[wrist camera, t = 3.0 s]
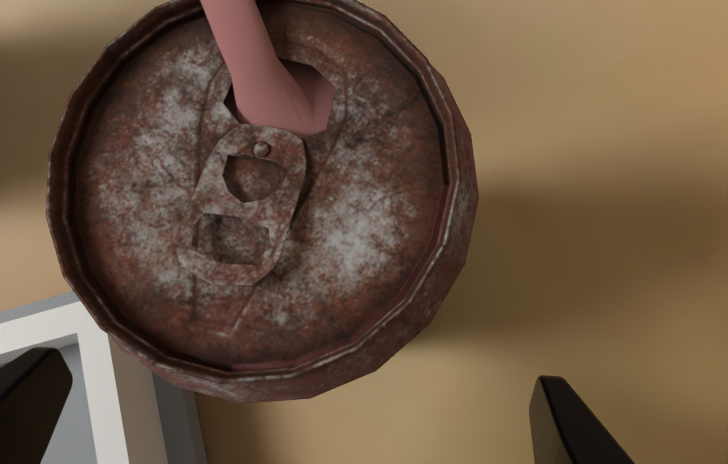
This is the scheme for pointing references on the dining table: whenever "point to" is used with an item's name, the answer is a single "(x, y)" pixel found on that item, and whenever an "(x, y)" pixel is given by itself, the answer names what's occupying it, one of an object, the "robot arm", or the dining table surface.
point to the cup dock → (104, 392)
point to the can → (261, 194)
